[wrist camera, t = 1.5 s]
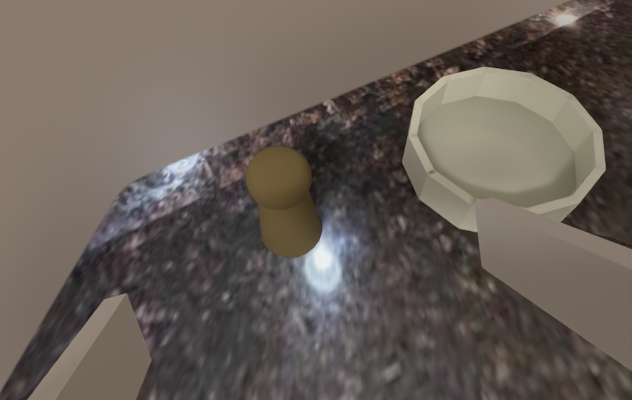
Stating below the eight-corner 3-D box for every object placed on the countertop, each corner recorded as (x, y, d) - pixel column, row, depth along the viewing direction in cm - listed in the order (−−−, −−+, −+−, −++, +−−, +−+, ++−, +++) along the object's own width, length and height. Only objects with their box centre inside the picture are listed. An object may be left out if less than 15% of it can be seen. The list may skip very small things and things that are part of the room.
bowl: (523, 84, 48) (539, 53, 44) (616, 209, 39) (647, 184, 35) (381, 118, 46) (385, 89, 42) (445, 256, 37) (457, 236, 33)
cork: (257, 209, 41) (231, 141, 32) (314, 197, 41) (307, 126, 32) (265, 263, 38) (240, 207, 28) (328, 250, 38) (324, 189, 29)
